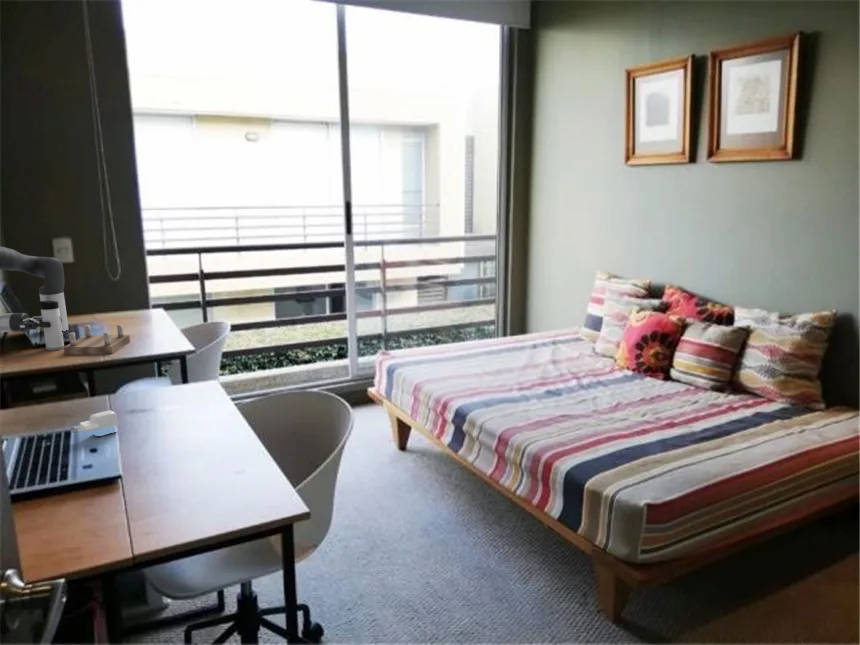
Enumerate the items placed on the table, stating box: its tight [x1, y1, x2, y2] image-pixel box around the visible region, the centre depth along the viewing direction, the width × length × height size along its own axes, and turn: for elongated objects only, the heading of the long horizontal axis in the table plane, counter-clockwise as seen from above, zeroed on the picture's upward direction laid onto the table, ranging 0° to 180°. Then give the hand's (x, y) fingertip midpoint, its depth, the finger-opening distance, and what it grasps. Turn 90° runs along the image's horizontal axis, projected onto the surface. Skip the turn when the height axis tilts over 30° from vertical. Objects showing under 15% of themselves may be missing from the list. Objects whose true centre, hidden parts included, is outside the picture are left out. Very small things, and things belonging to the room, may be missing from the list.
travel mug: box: [38, 300, 65, 352], centre depth 248 cm, size 6×7×20 cm
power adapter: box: [68, 409, 119, 434], centre depth 166 cm, size 11×5×6 cm, turn 137°
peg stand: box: [63, 324, 131, 356], centre depth 251 cm, size 18×18×8 cm
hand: (56, 322), depth 248 cm, fingers open, 8 cm apart
